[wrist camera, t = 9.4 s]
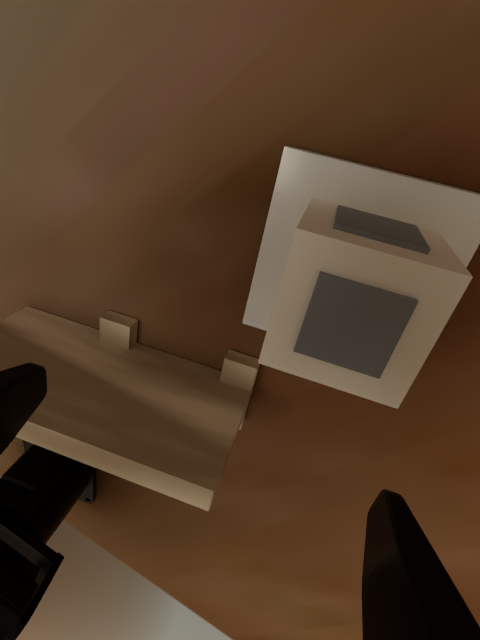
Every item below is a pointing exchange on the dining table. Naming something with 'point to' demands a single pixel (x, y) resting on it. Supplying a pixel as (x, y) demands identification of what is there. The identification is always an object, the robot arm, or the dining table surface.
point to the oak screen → (130, 402)
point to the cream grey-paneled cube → (362, 301)
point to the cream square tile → (359, 193)
